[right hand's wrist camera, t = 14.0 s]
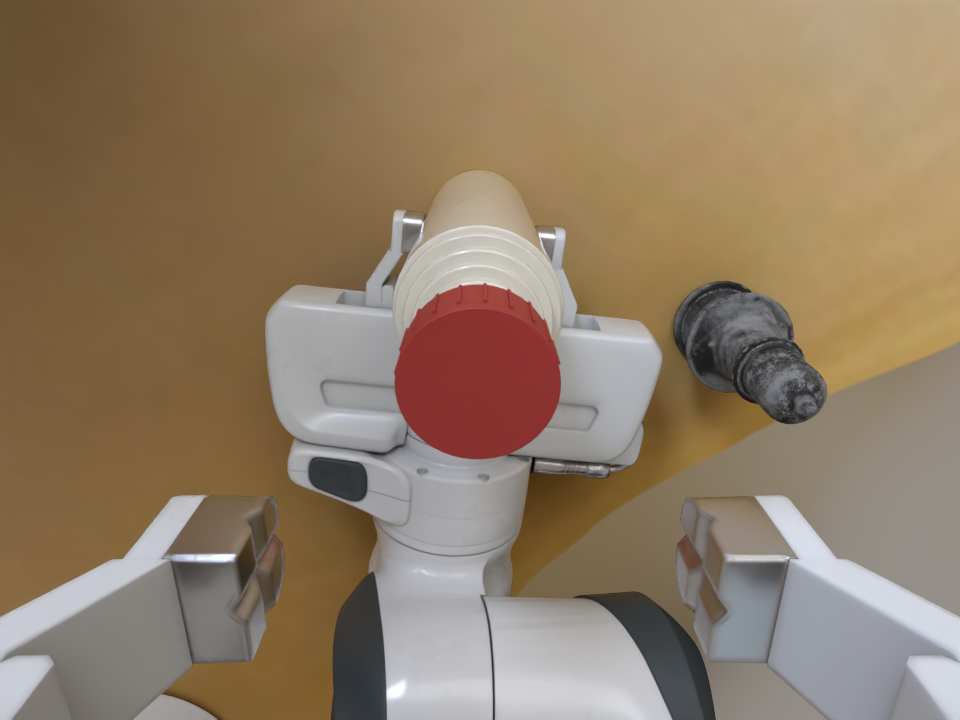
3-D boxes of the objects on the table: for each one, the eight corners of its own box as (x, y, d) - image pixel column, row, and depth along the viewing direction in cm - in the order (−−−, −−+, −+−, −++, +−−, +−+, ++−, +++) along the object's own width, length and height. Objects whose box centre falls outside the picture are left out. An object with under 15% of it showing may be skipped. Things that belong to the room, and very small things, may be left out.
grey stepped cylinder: (787, 313, 39) (912, 399, 28) (718, 386, 40) (810, 494, 29) (716, 256, 37) (817, 322, 26) (648, 333, 39) (715, 426, 28)
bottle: (528, 265, 38) (592, 472, 17) (434, 271, 38) (378, 484, 17) (525, 166, 36) (591, 261, 15) (425, 173, 36) (348, 277, 15)
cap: (555, 418, 18) (564, 456, 16) (410, 427, 18) (402, 466, 16) (551, 277, 16) (561, 300, 15) (394, 287, 17) (382, 311, 15)
